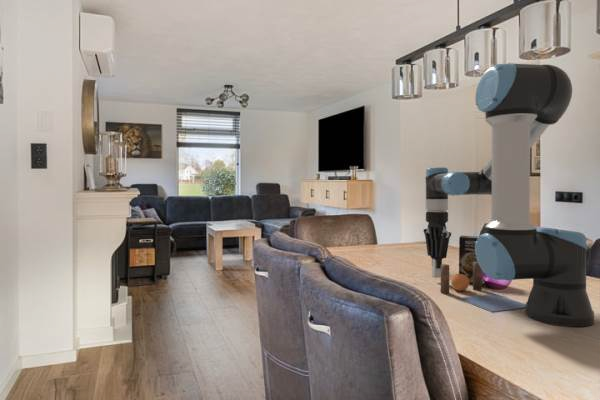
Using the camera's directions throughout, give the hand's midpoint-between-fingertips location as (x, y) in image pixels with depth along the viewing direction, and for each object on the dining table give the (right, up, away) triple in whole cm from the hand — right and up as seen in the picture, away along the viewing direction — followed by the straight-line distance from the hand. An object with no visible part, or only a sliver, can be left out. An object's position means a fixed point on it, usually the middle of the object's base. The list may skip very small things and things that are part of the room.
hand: (436, 276), depth 145 cm
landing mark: (+8, -3, -26) cm, 27 cm away
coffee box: (+13, -2, +1) cm, 14 cm away
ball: (+4, 0, -12) cm, 12 cm away
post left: (-2, -2, -14) cm, 15 cm away
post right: (+10, -2, -10) cm, 15 cm away
